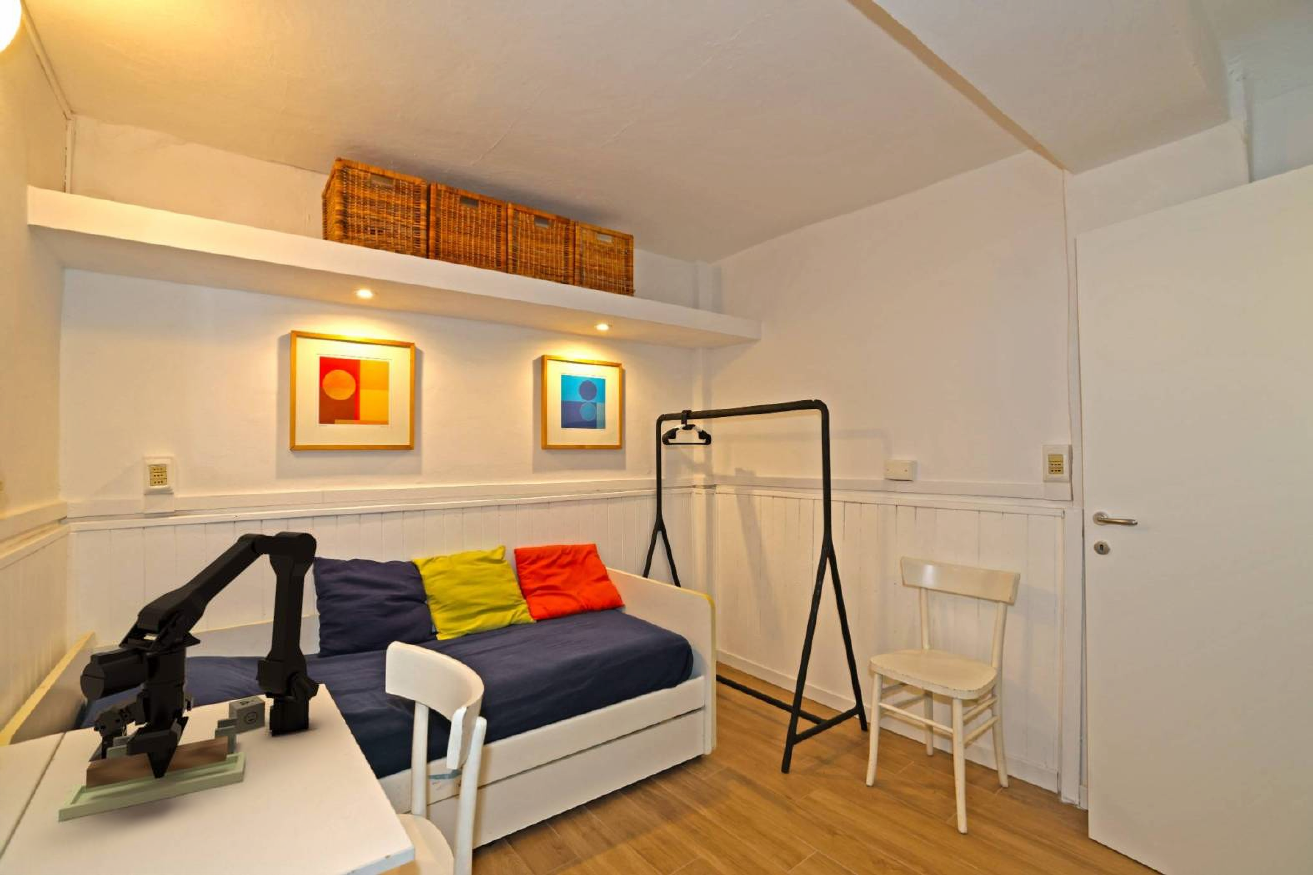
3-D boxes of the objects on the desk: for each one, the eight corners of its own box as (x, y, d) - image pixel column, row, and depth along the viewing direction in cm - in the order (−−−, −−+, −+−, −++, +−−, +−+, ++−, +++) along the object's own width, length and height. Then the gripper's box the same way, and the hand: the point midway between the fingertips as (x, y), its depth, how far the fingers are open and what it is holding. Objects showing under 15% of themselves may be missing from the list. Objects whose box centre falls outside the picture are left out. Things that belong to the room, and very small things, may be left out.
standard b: (135, 762, 110) (136, 733, 110) (128, 775, 106) (129, 745, 106) (113, 766, 108) (114, 737, 109) (105, 779, 104) (106, 749, 104)
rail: (227, 753, 108) (228, 735, 108) (225, 760, 105) (226, 742, 105) (91, 780, 98) (91, 761, 98) (85, 788, 96) (86, 769, 96)
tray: (245, 760, 111) (245, 751, 111) (242, 781, 104) (242, 771, 104) (74, 795, 99) (75, 784, 99) (58, 821, 92) (58, 809, 92)
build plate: (131, 760, 112) (132, 734, 112) (77, 770, 108) (78, 744, 108) (144, 733, 123) (145, 710, 123) (96, 741, 119) (97, 718, 119)
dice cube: (228, 727, 125) (228, 702, 125) (256, 719, 128) (257, 695, 128) (236, 734, 121) (236, 709, 121) (264, 726, 125) (265, 701, 125)
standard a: (236, 742, 118) (236, 716, 118) (233, 754, 113) (234, 726, 113) (217, 746, 116) (217, 719, 116) (213, 758, 112) (214, 730, 112)
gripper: (115, 669, 106) (112, 760, 106) (83, 708, 90) (79, 815, 90) (195, 658, 112) (192, 745, 111) (178, 693, 96) (175, 795, 95)
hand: (161, 772), depth 102 cm, fingers closed on rail, 3 cm apart
